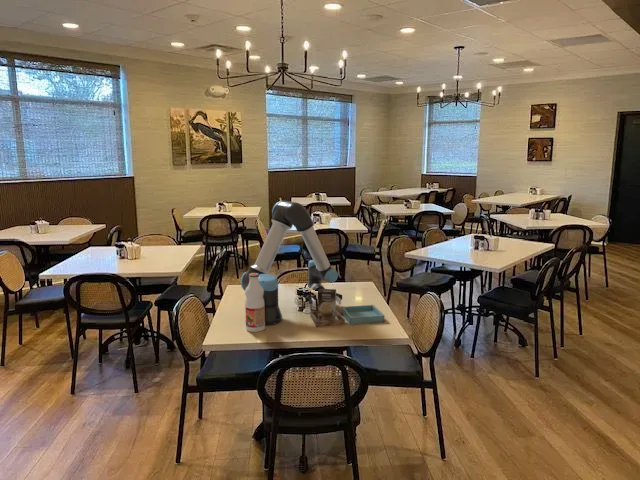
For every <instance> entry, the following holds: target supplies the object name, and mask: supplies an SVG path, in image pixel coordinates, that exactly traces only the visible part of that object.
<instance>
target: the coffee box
mask: <svg viewBox="0 0 640 480" xmlns="http://www.w3.org/2000/svg"><path fill="white" fill-rule="evenodd" d="M336 293H337V289H336V288H335V289H334V288H325V289H319V290H318V299H317V311H318V316H317V320H318V321H327V320H337V317H336V310H337V301H336Z"/></svg>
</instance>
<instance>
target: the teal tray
mask: <svg viewBox="0 0 640 480" xmlns="http://www.w3.org/2000/svg"><path fill="white" fill-rule="evenodd" d="M340 308H341V311H340V314H341V316H342V317H343V318H344V320H345V321H347V322H348V324H349V325H350V326H352V325H353V324H354V325H364V324H377V323H385V318H386V317H385V314H384V313H383V312H382V311H380V310H379V309H378V307H376V305H374V304H365V305H351V306H341V307H340ZM354 325H353V326H354Z"/></svg>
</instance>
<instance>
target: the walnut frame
mask: <svg viewBox="0 0 640 480" xmlns="http://www.w3.org/2000/svg"><path fill="white" fill-rule="evenodd" d="M309 313H310V316H309V317H310V318H311V320H312V321H313V323H314V325H315V327H316V328H321V327H330V326H331V327H332V326H343V325H346V324H345V321H346V319H345V318H344V316H343V315H342V314H341V312H339V311H338V310H337V309H336V320H327V321H318V310H317V311H309Z"/></svg>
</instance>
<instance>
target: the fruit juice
mask: <svg viewBox="0 0 640 480" xmlns="http://www.w3.org/2000/svg"><path fill="white" fill-rule="evenodd" d="M249 278H250V281H249V285H248V286H247V288H246V289H245V291H244V296H245V301H244V302H245V303H244V308H245V309H244V310H245V328H246V331H248V332H249V333H259V332H262V331H264V330H265V329H266V325H265V303H264V298H263V294H264V289H263V287H262V286H261V285H260V283H259V279H258V278H259V274H258V273H250V274H249Z"/></svg>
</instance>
